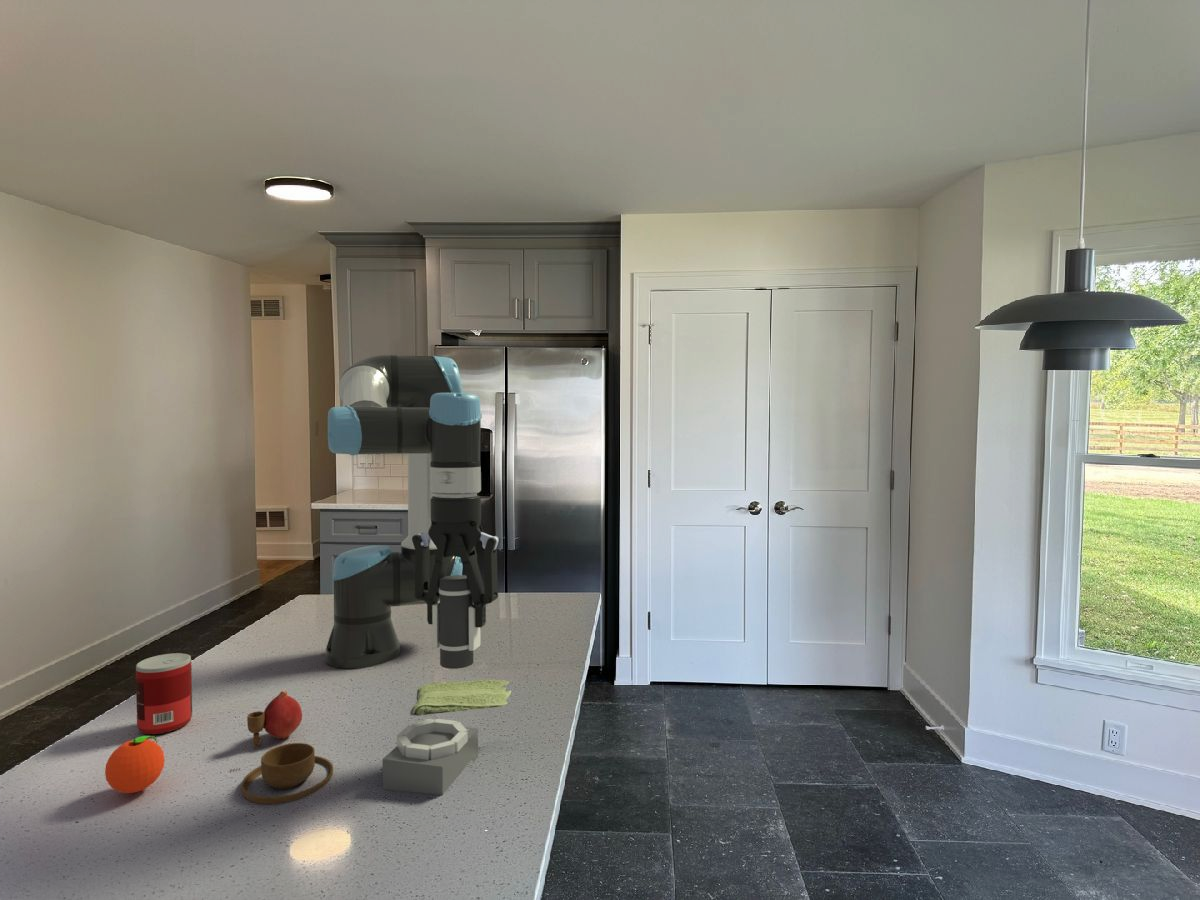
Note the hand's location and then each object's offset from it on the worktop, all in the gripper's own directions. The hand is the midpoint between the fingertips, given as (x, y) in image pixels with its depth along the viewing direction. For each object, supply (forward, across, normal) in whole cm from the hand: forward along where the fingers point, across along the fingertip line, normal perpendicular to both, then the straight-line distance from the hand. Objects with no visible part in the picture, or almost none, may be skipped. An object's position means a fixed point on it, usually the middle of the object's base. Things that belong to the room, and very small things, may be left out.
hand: (456, 646), depth 106 cm
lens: (+3, 0, 0) cm, 3 cm away
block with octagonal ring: (+17, -1, -6) cm, 18 cm away
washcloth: (+18, -7, +19) cm, 27 cm away
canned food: (+17, -53, 0) cm, 56 cm away
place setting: (+18, -22, -9) cm, 30 cm away
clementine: (+17, -40, -18) cm, 47 cm away
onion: (+17, -30, 0) cm, 35 cm away
